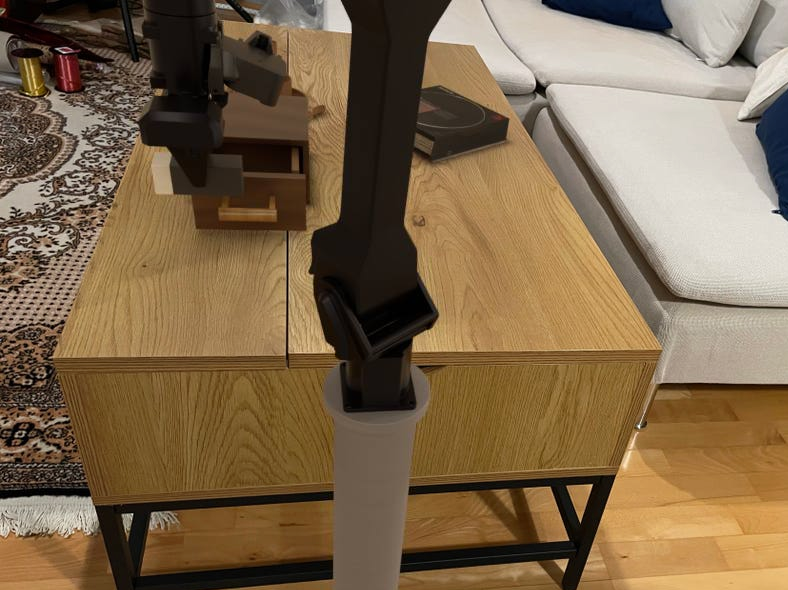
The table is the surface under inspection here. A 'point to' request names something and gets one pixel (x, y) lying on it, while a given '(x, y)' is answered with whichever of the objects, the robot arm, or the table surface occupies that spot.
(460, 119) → the portable cd player
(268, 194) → the drawer
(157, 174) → the black rubber eraser
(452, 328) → the table surface
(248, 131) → the cabinet
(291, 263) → the table surface
